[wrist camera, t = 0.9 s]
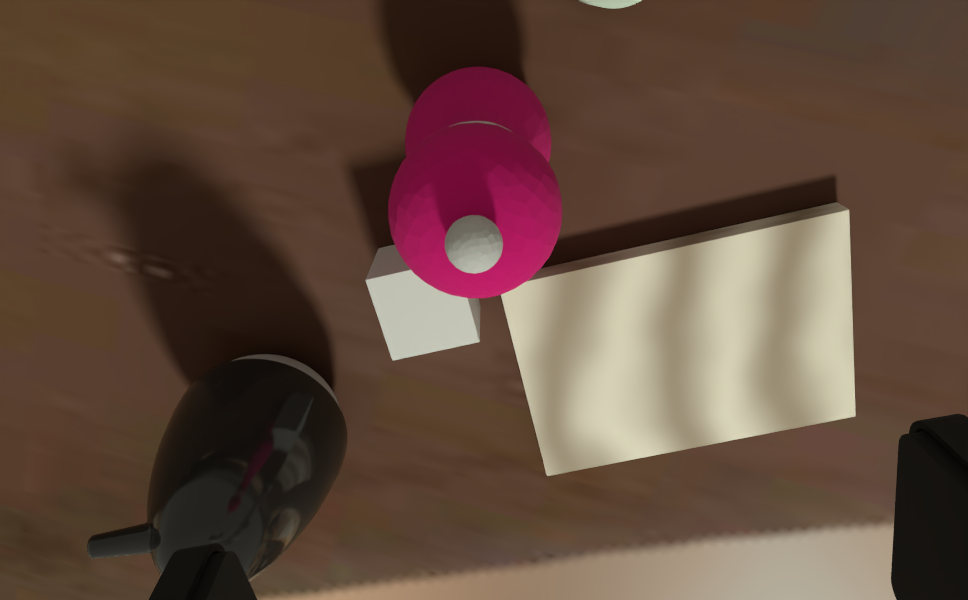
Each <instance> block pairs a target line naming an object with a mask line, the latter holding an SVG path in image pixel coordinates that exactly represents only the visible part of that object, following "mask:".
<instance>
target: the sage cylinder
mask: <svg viewBox="0 0 968 600" xmlns="http://www.w3.org/2000/svg"><path fill="white" fill-rule="evenodd" d="M577 1H579V2H582V3H585V4H589V5H593V6H598V7H603V8H612V9H613V8H623V7H628V6H631V5H634V4H636V3H638V2H640V1H641V0H577Z"/></svg>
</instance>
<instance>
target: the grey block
mask: <svg viewBox="0 0 968 600" xmlns="http://www.w3.org/2000/svg"><path fill="white" fill-rule="evenodd" d="M366 283H367V286H368V289H369V292H370V295H371V298H372V301H373V304H374V307H375V310H376V313H377V316H378V319H379V322H380V325H381V328H382V331H383V334H384V337H385V340H386V343H387V346H388V349H389V352H390V354H391V357H392V360H398V359H402V358H407V357H412V356H416V355H421V354H426V353H430V352H435V351H440V350H444V349H449V348H454V347H458V346H463V345H468V344H472V343H477V342H480V302H479V298H465V297H459V296H454V295H450V294H447V293H444V292H442V291H439V290H437V289H436V288H434V287H432V286H430V285H429V284H427V283H425V282H424V281H423V280H422V279H420V278H419V277H418V276H417V275H415V274H414V273H413V271H412V270H411V269H410V268H409V267H408V266H407V264H406V263H405V262H404V261H403V259H402V257H401V256H400V254H399V252H398V251H397V249H396V247H395V245H391V246H386V247H382V248H378V251H377V253H376V256H375V258H374V260H373V263H372V265H371V268H370V270H369V273H368V275H367V278H366Z"/></svg>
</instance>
